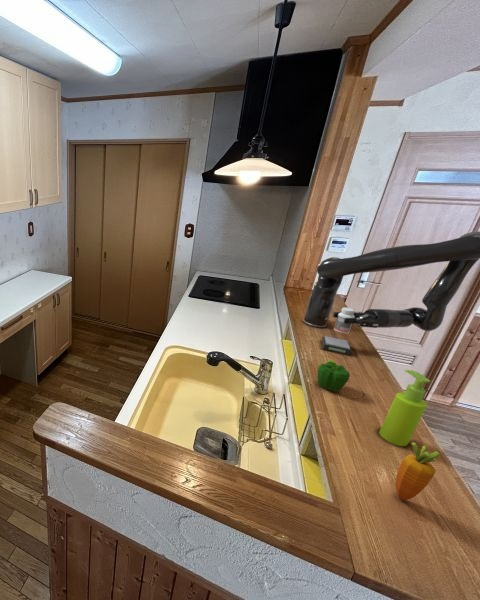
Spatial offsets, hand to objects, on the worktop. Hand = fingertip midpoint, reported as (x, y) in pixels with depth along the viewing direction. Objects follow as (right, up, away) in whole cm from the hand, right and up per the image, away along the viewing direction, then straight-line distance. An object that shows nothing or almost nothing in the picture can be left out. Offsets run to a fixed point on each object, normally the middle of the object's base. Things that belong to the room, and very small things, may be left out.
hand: (339, 317), depth 132 cm
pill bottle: (+3, -6, +2) cm, 7 cm away
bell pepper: (-21, -23, -21) cm, 37 cm away
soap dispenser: (-19, -31, -42) cm, 56 cm away
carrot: (-34, -38, -59) cm, 78 cm away
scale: (+2, -13, +5) cm, 14 cm away
